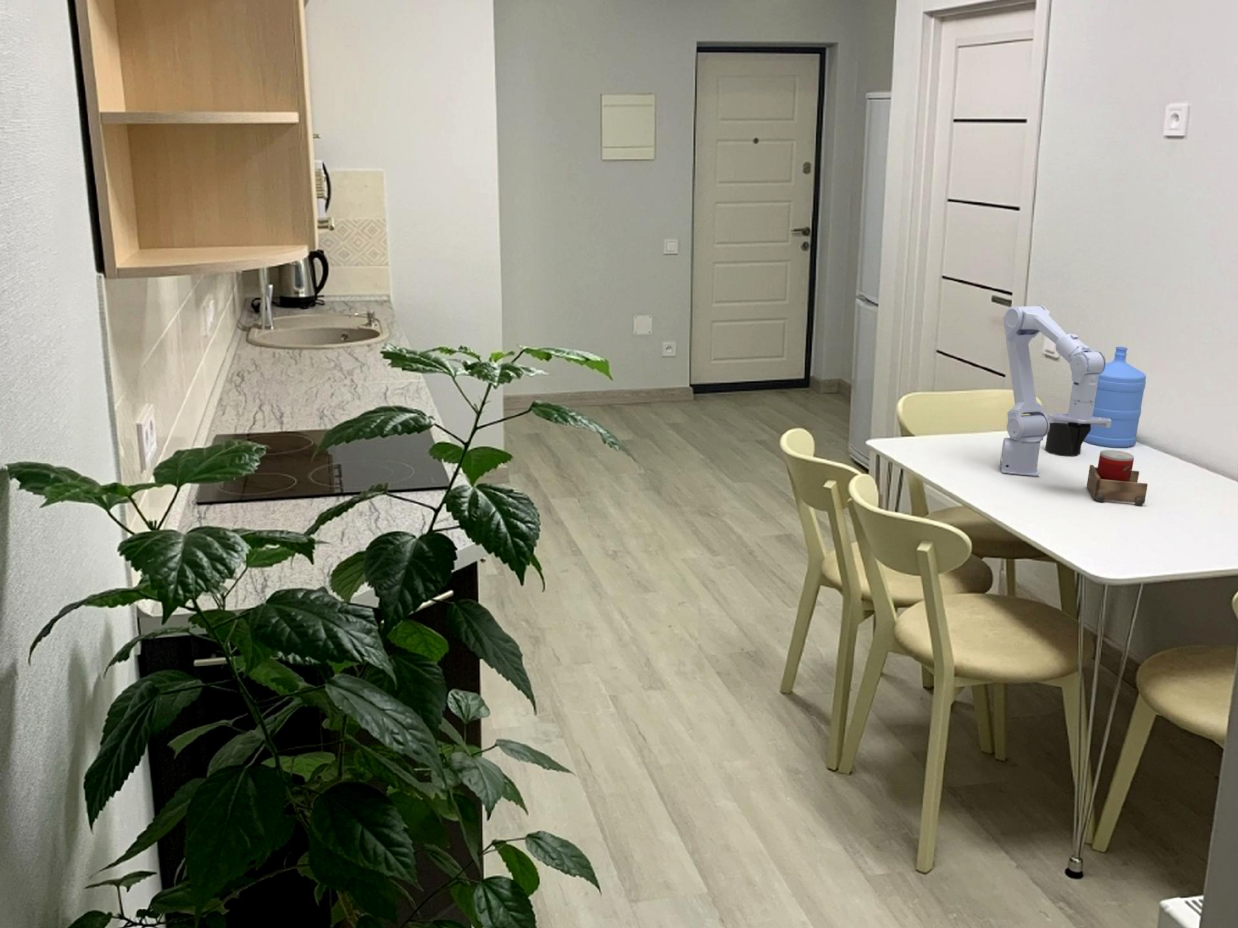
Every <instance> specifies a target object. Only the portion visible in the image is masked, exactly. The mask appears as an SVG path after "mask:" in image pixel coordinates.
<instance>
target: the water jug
mask: <svg viewBox="0 0 1238 928" xmlns="http://www.w3.org/2000/svg"><path fill="white" fill-rule="evenodd" d="M1127 351H1128V347H1123V346H1116V347H1115V353H1114V358H1113V360H1112V361H1110V362H1106V367H1105V370H1104V371H1103V372H1102V373H1101V374H1099V377H1098V384H1097V390H1096V397H1095V403H1094V409H1093V416H1094V417H1100V418H1108V419H1111V426H1110V428H1106V427H1101V426H1091V430H1090V432H1089V434H1088V435H1087V436H1086V438H1085V439H1084V441H1083V442H1086V443H1088V444H1091V445H1094V446H1099V447H1105V448H1117V449H1119V448H1120V449H1121V448H1130V447H1132V446H1134V445H1135V444H1136V442H1137V438H1138V436H1137V435H1138V427H1139V421H1140V417H1141V414H1142V404H1143V399H1144V392H1145V388H1146V382H1147V381H1146V380H1147V376H1146V374H1145V373H1144V372H1142V371H1141V370H1139V369H1138V368H1136V367H1134V366H1133V365H1131V364H1129V363H1127V361H1126V359H1127V355H1128V354H1127Z"/></svg>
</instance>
